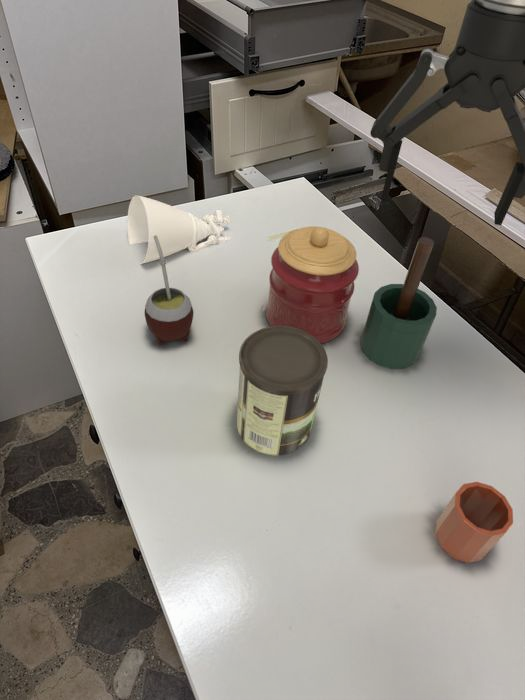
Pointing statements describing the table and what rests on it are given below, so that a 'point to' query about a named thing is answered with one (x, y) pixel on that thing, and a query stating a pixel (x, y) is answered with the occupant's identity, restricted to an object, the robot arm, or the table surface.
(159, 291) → the mate gourd
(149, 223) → the rocket engine
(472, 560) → the holder
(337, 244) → the kitchen canister
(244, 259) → the table surface
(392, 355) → the jar
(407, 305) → the brush
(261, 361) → the coffee can
